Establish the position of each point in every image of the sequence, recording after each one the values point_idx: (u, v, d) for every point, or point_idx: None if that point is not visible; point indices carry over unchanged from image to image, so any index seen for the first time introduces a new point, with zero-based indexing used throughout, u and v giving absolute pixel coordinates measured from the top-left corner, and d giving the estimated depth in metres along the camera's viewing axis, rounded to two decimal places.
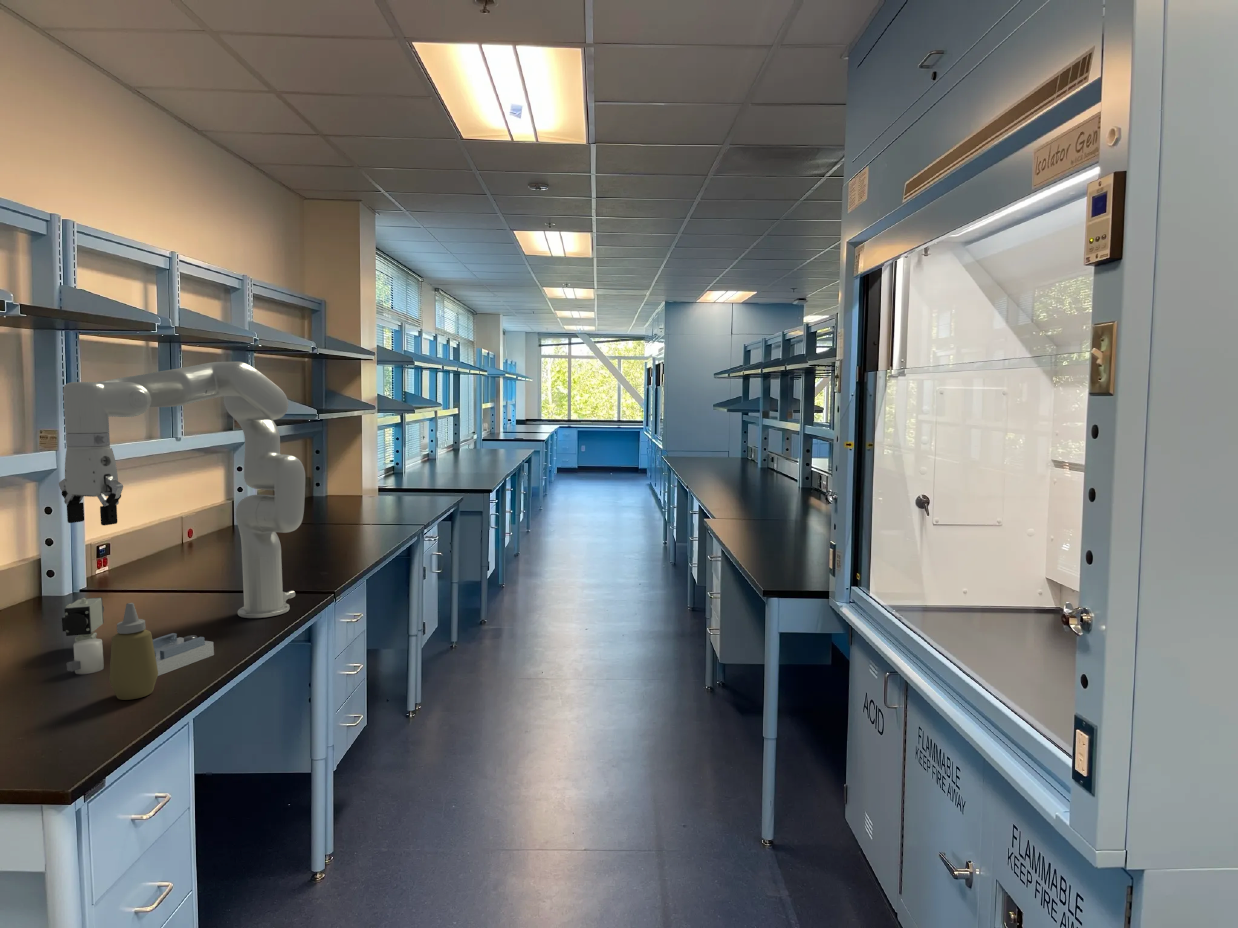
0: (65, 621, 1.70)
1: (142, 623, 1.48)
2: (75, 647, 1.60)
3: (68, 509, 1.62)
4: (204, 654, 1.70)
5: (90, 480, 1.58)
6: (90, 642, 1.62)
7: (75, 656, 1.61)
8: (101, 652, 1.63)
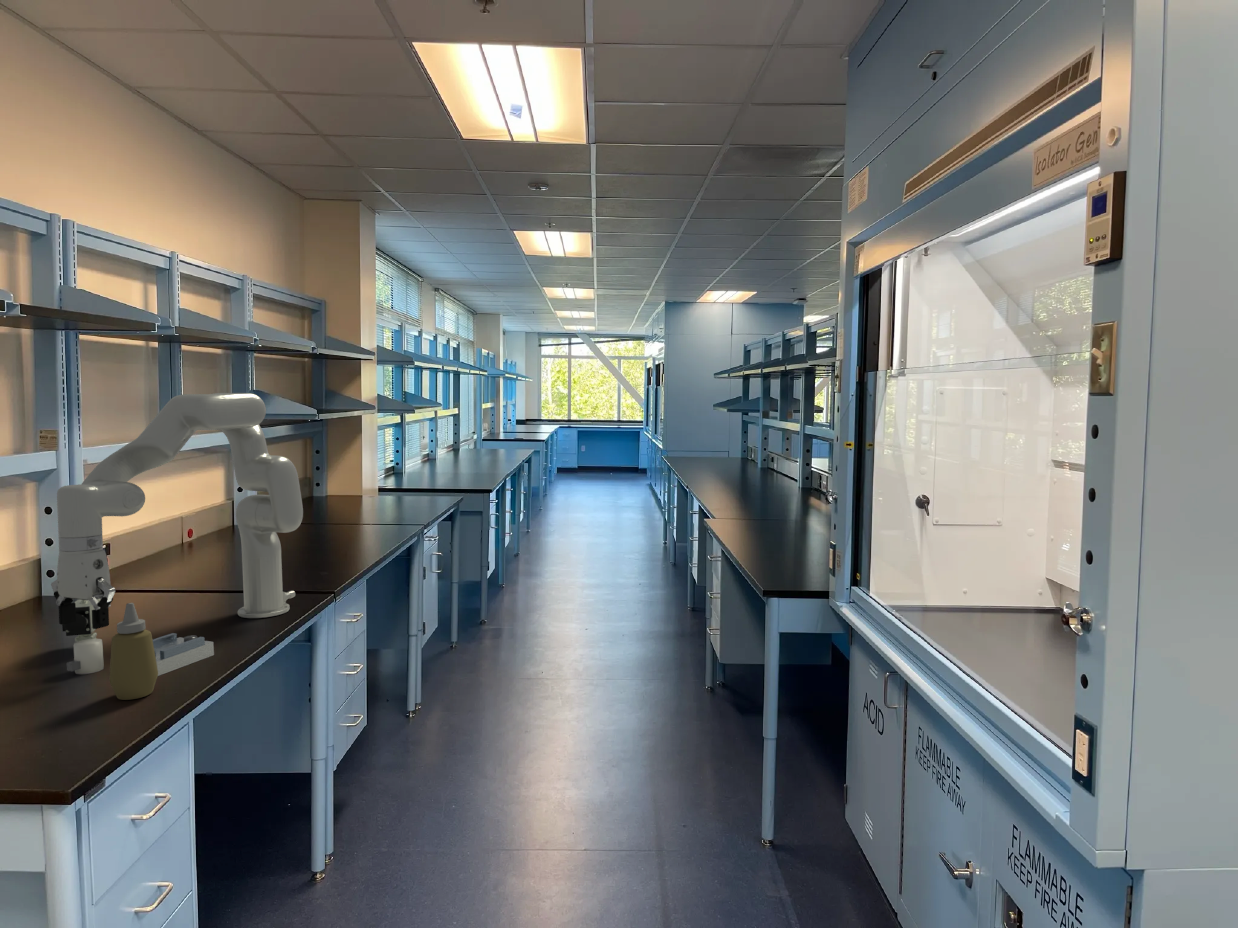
0: None
1: (142, 623, 1.48)
2: (75, 647, 1.60)
3: (60, 611, 1.62)
4: (204, 654, 1.70)
5: (82, 584, 1.58)
6: (90, 642, 1.62)
7: (75, 656, 1.61)
8: (101, 652, 1.63)
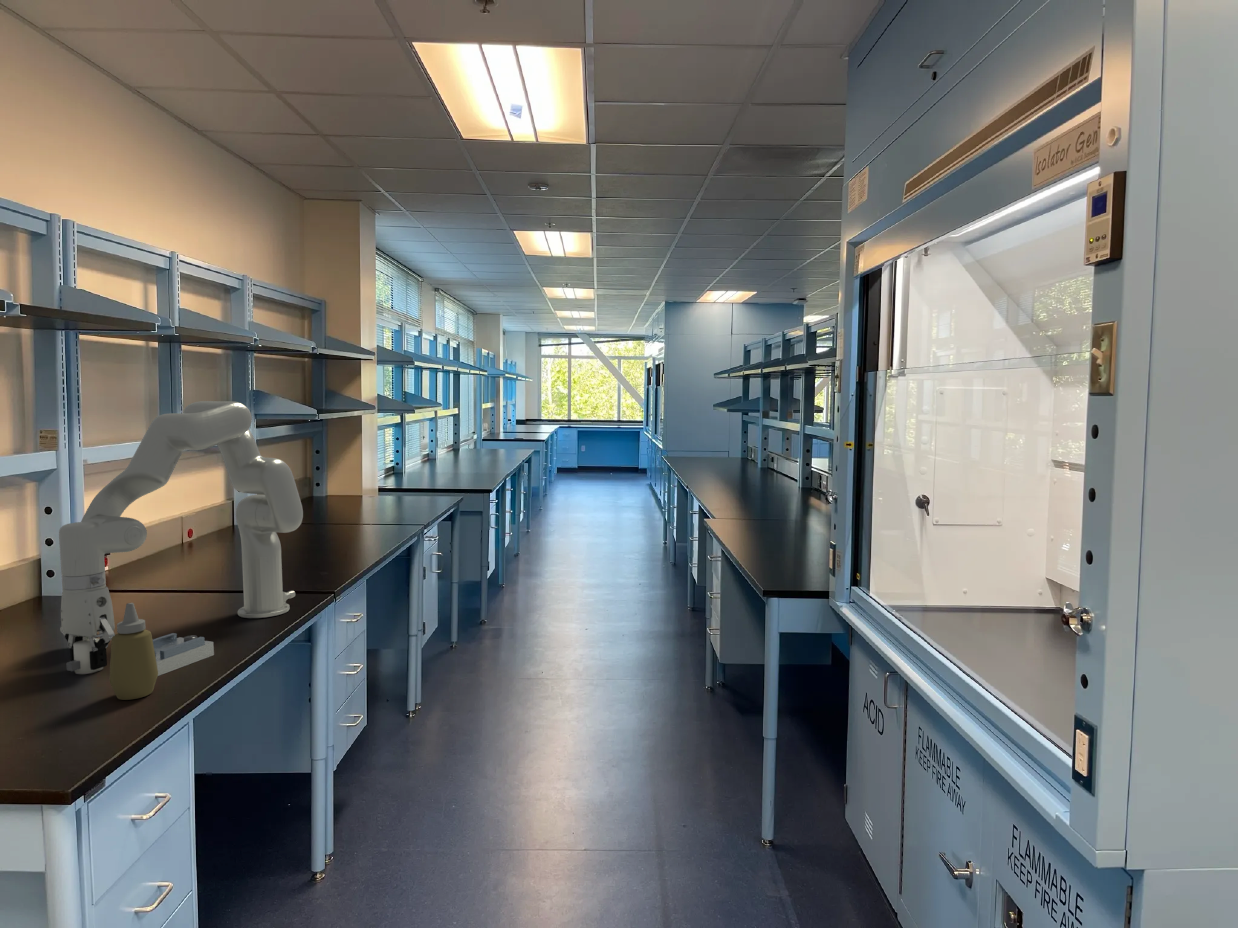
0: None
1: (142, 623, 1.48)
2: (75, 647, 1.60)
3: (71, 653, 1.62)
4: (204, 654, 1.70)
5: (86, 622, 1.59)
6: None
7: (75, 656, 1.61)
8: None
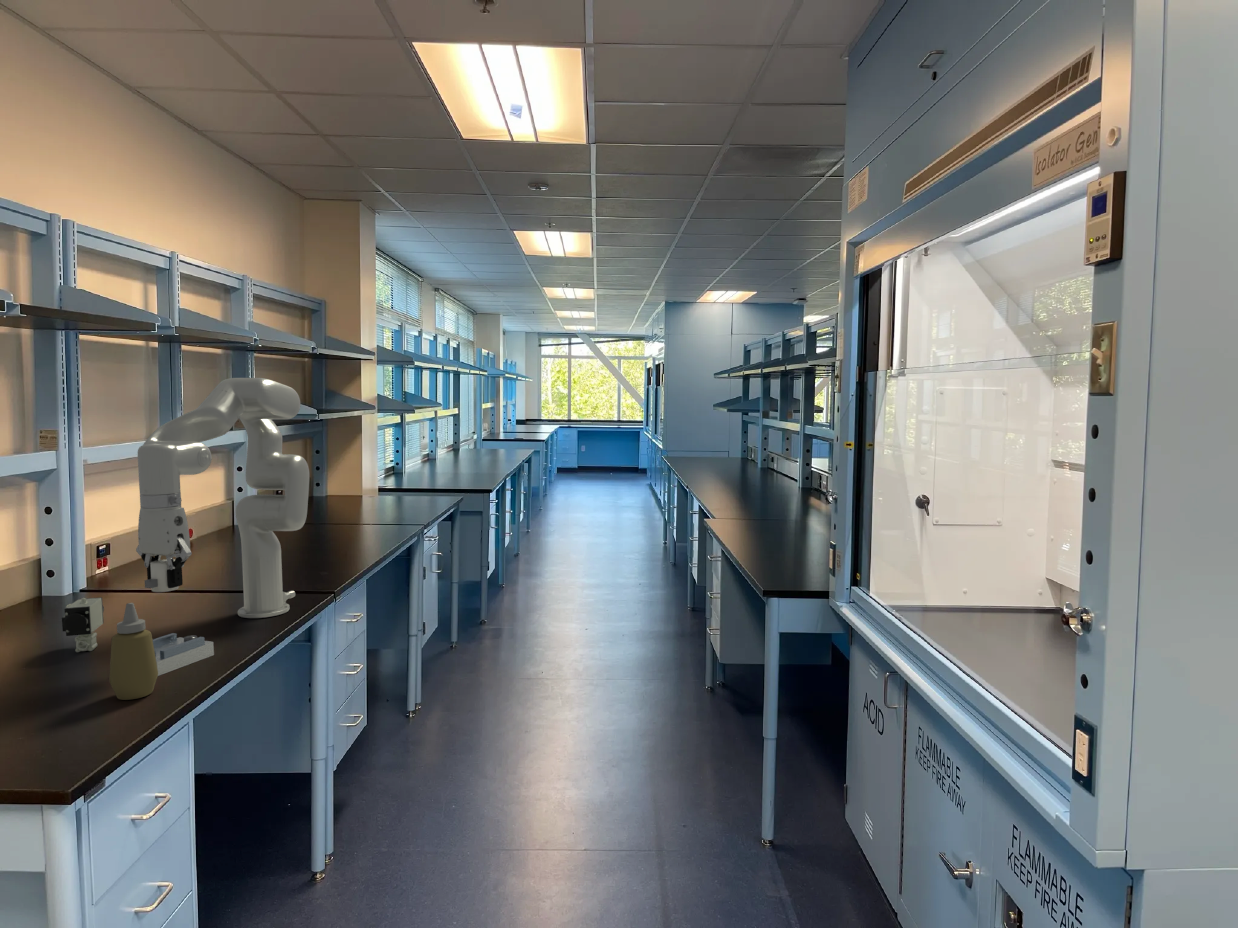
0: (65, 621, 1.70)
1: (142, 623, 1.48)
2: (152, 565, 1.63)
3: (148, 572, 1.65)
4: (204, 654, 1.70)
5: (164, 540, 1.62)
6: (166, 561, 1.65)
7: (152, 574, 1.64)
8: None
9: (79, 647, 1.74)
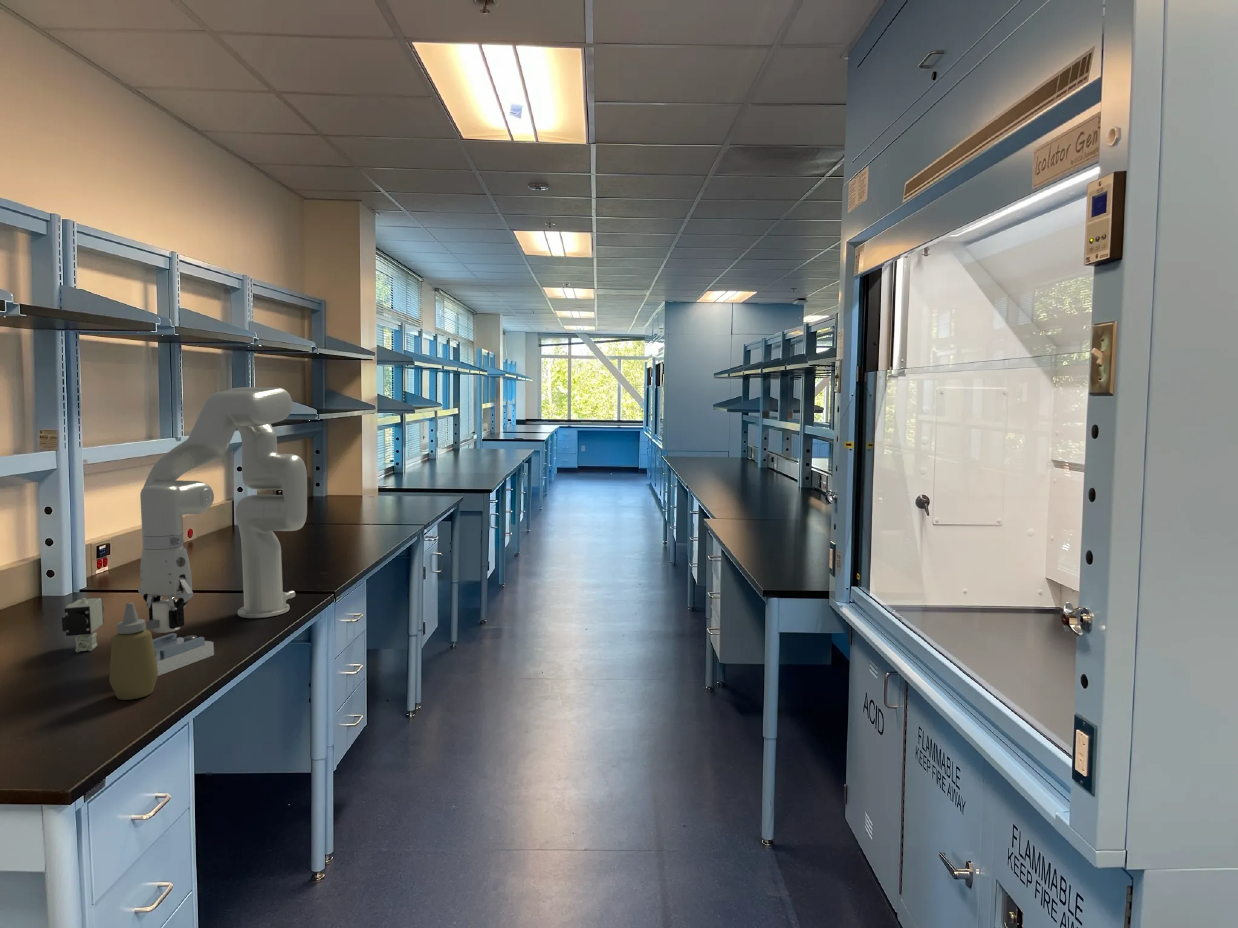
0: (65, 621, 1.70)
1: (142, 623, 1.48)
2: (154, 606, 1.64)
3: (150, 613, 1.66)
4: (204, 654, 1.70)
5: (166, 581, 1.63)
6: (168, 602, 1.66)
7: (154, 615, 1.64)
8: None
9: (79, 647, 1.74)
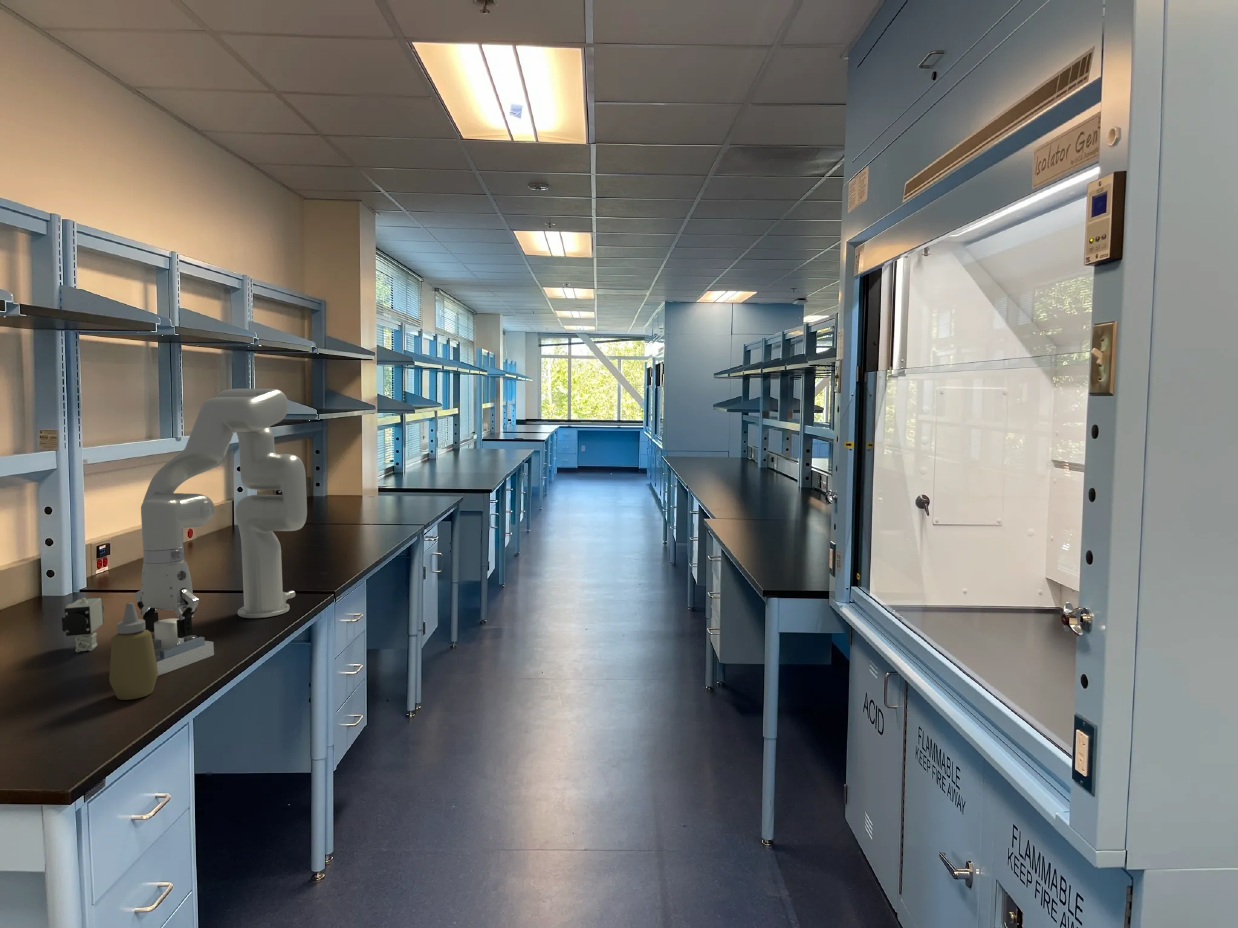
0: (65, 621, 1.70)
1: (142, 623, 1.48)
2: (156, 626, 1.65)
3: None
4: (204, 654, 1.70)
5: (167, 595, 1.63)
6: (170, 621, 1.67)
7: (156, 635, 1.65)
8: None
9: (79, 647, 1.74)
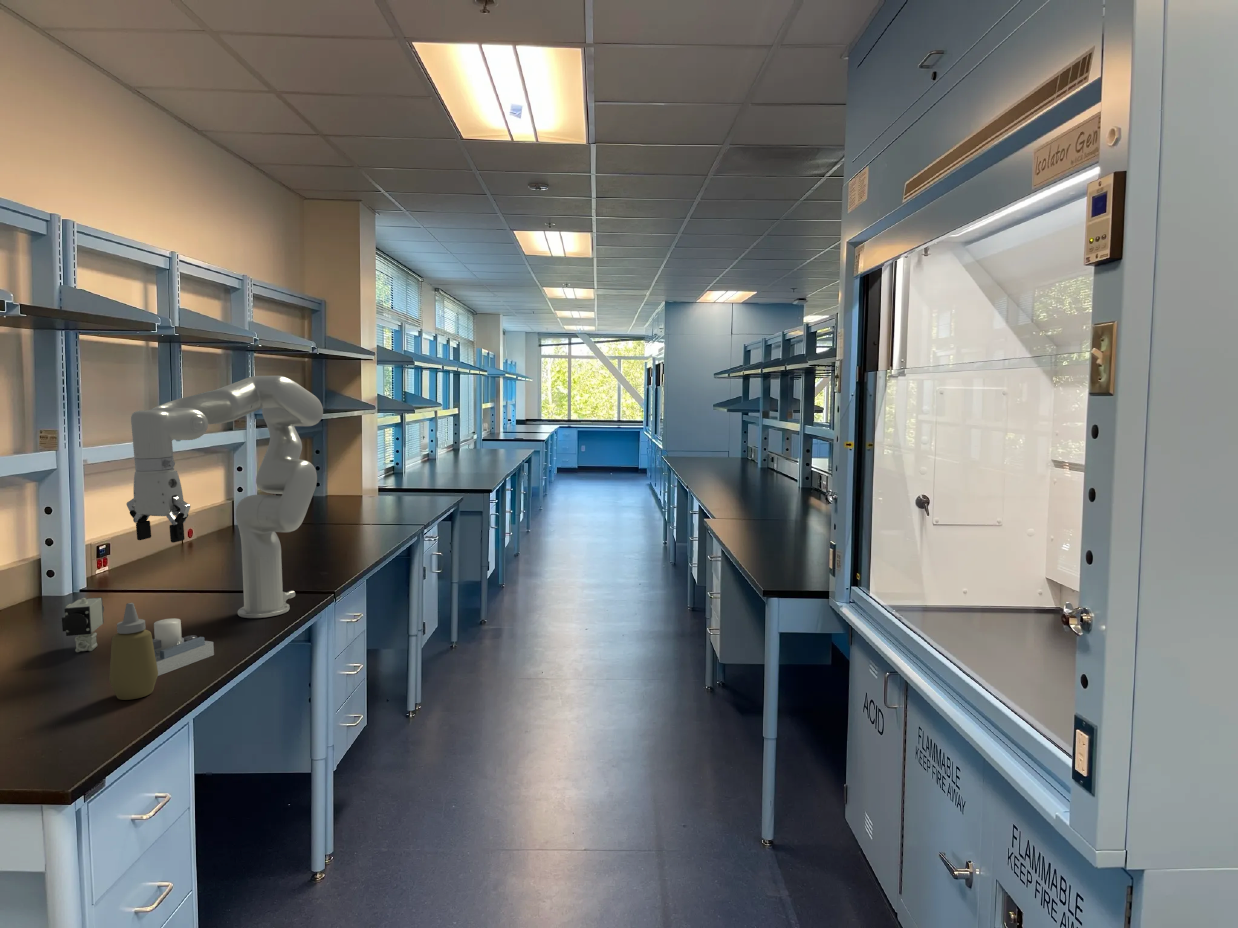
0: (65, 621, 1.70)
1: (142, 623, 1.48)
2: (156, 626, 1.65)
3: (137, 527, 1.75)
4: (204, 654, 1.70)
5: (159, 501, 1.71)
6: (169, 622, 1.67)
7: (156, 635, 1.65)
8: (180, 631, 1.67)
9: (79, 647, 1.74)
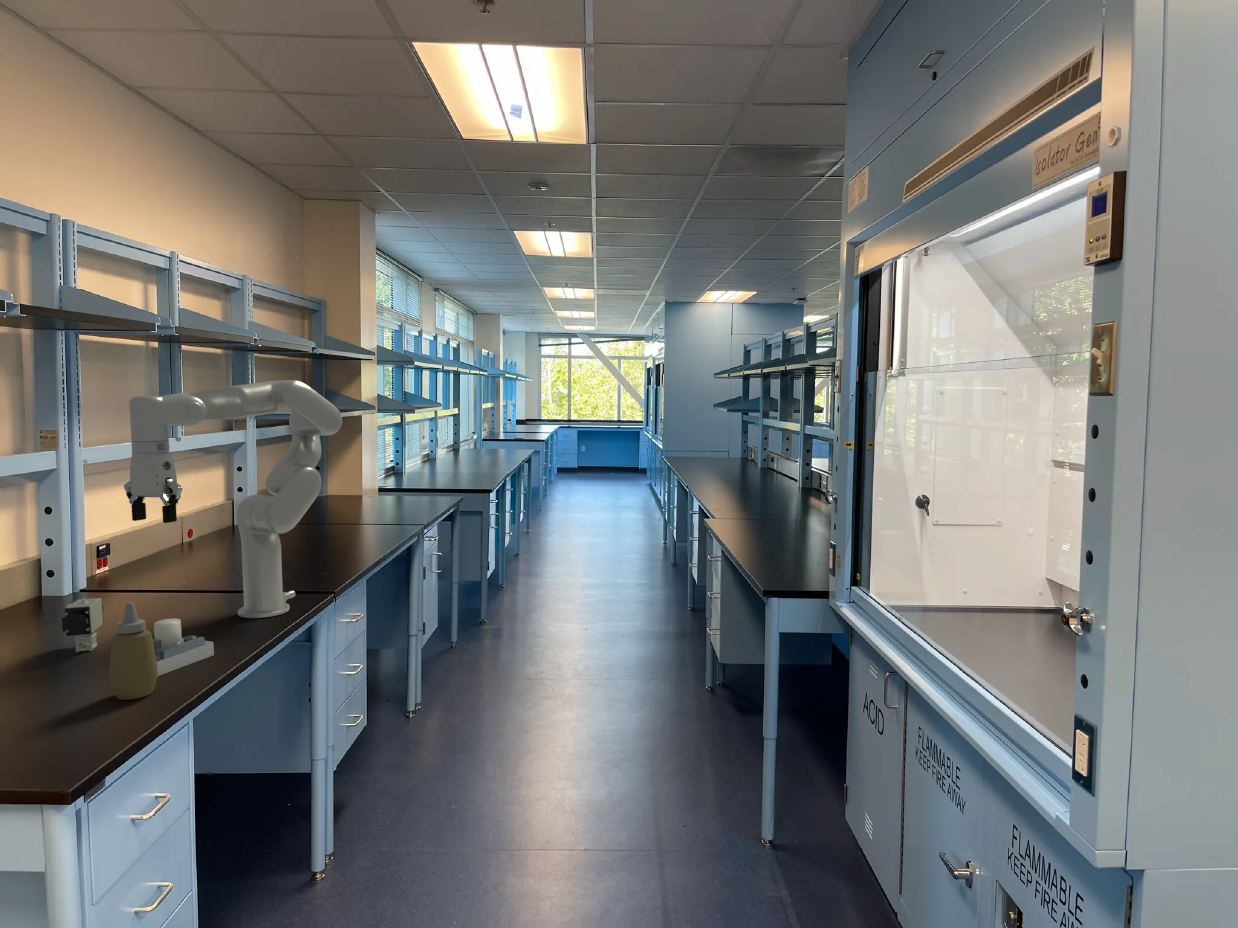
0: (65, 621, 1.70)
1: (142, 623, 1.48)
2: (156, 626, 1.65)
3: (133, 508, 1.82)
4: (204, 654, 1.70)
5: (153, 483, 1.78)
6: (169, 622, 1.67)
7: (156, 635, 1.65)
8: (180, 631, 1.67)
9: (79, 647, 1.74)
